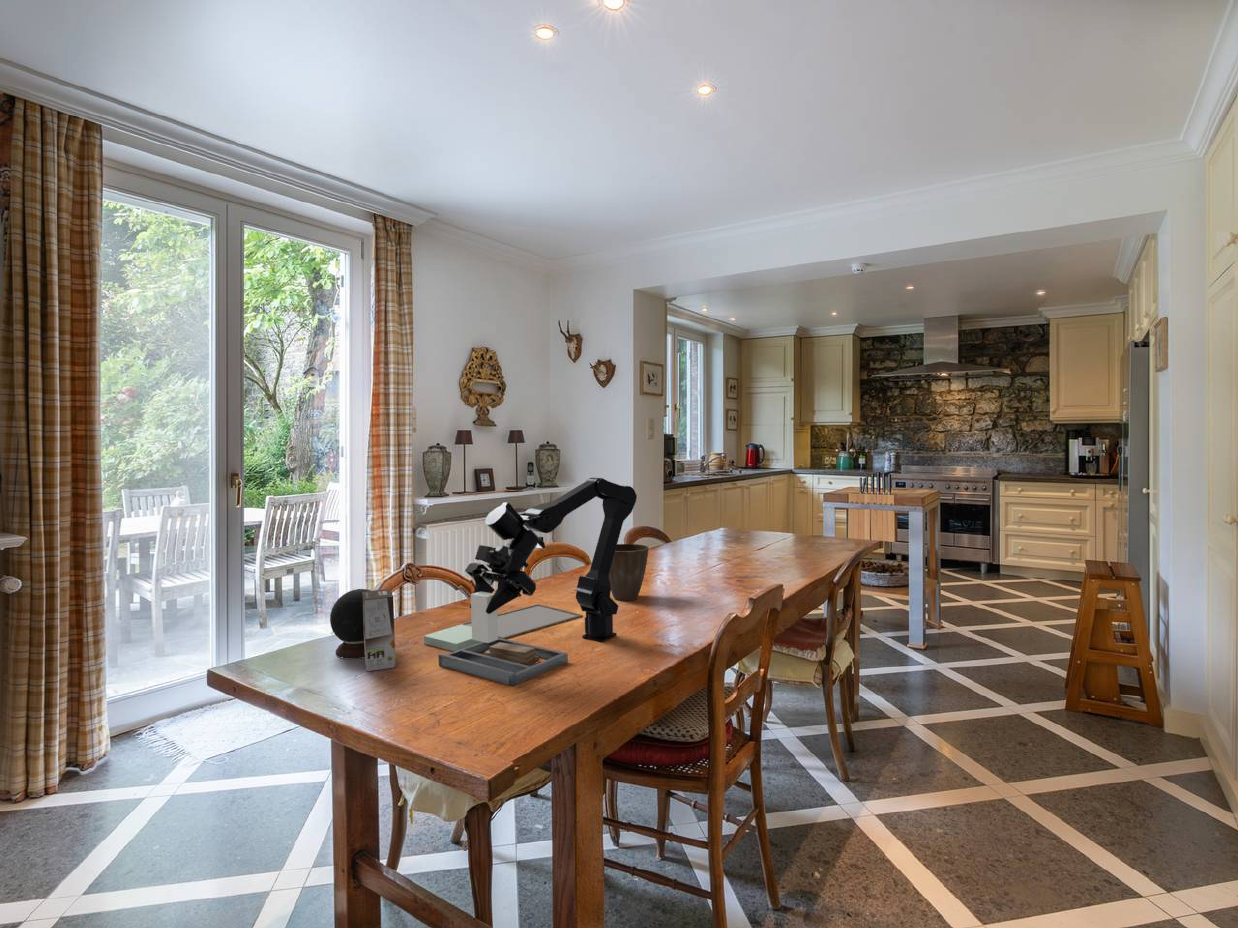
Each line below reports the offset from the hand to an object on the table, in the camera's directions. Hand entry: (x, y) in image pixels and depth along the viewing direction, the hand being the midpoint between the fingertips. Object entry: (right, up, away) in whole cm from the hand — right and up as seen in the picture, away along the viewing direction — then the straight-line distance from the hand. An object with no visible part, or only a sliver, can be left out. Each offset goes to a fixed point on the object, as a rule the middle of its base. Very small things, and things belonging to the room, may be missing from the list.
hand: (479, 610), depth 145 cm
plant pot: (+32, -10, +65) cm, 74 cm away
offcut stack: (+6, -13, +8) cm, 16 cm away
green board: (-10, -13, +23) cm, 28 cm away
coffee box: (-24, -14, +8) cm, 29 cm away
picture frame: (+3, -12, +41) cm, 43 cm away
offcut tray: (+4, -13, +6) cm, 15 cm away
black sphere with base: (-32, -14, +17) cm, 39 cm away
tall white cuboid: (+1, -7, +1) cm, 7 cm away
